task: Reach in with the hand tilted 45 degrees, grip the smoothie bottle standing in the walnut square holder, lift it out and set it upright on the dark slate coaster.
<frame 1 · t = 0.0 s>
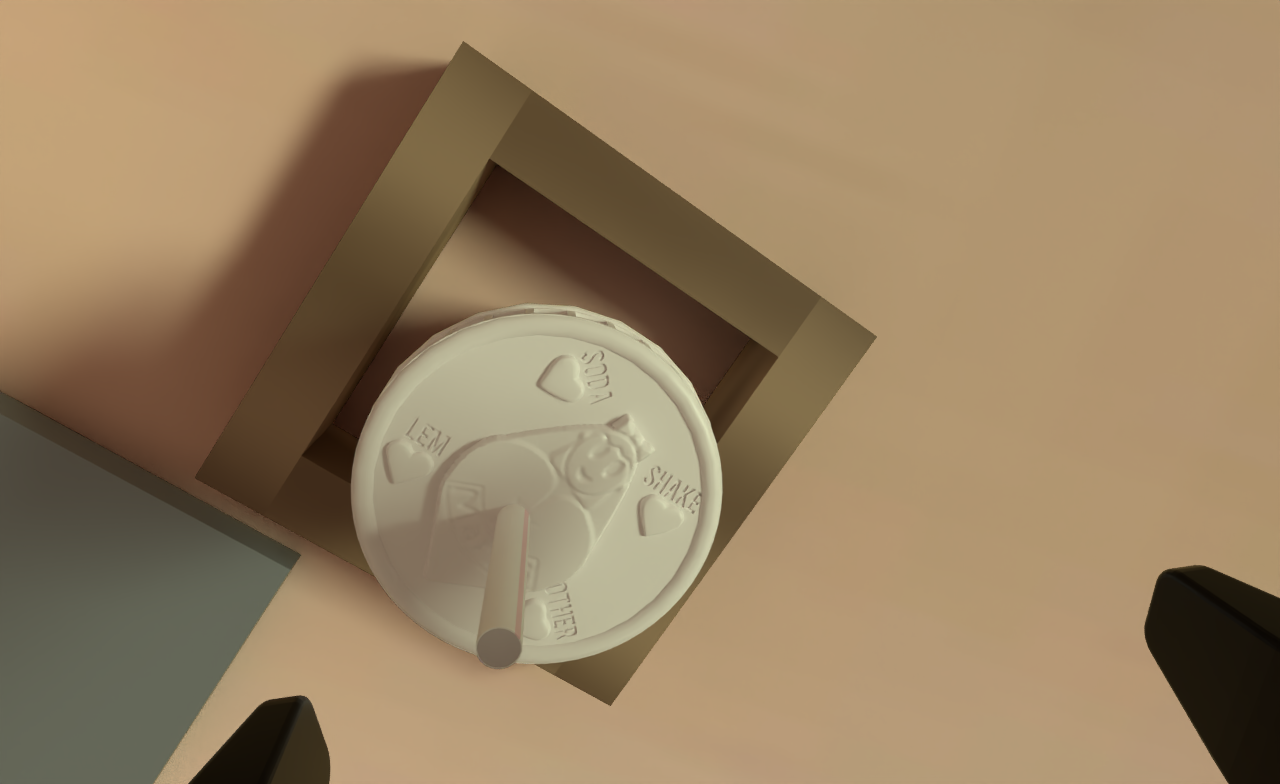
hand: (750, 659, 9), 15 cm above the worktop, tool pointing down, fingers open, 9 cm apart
holder: (544, 380, 24), on the worktop
smoothie: (544, 378, 24), resting in holder
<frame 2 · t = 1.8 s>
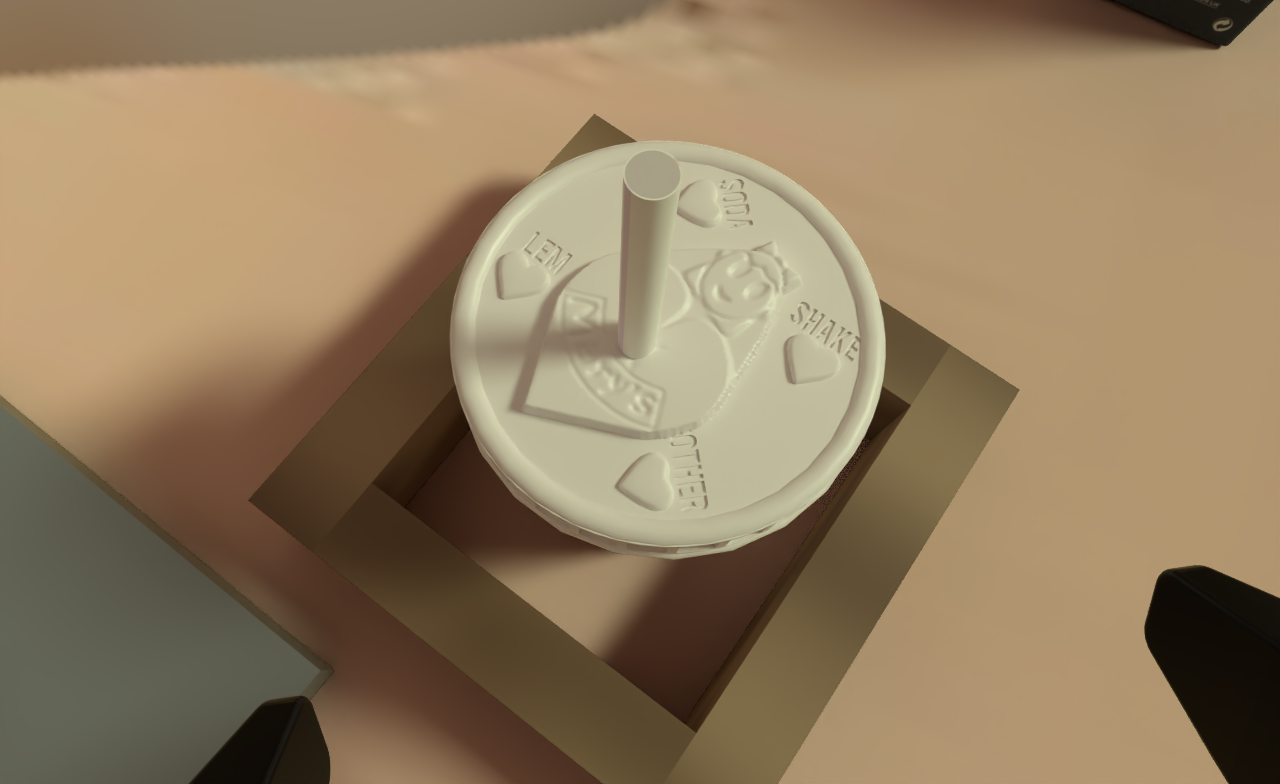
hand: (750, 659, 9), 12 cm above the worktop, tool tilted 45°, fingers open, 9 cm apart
holder: (643, 473, 21), on the worktop
smoothie: (642, 475, 22), resting in holder
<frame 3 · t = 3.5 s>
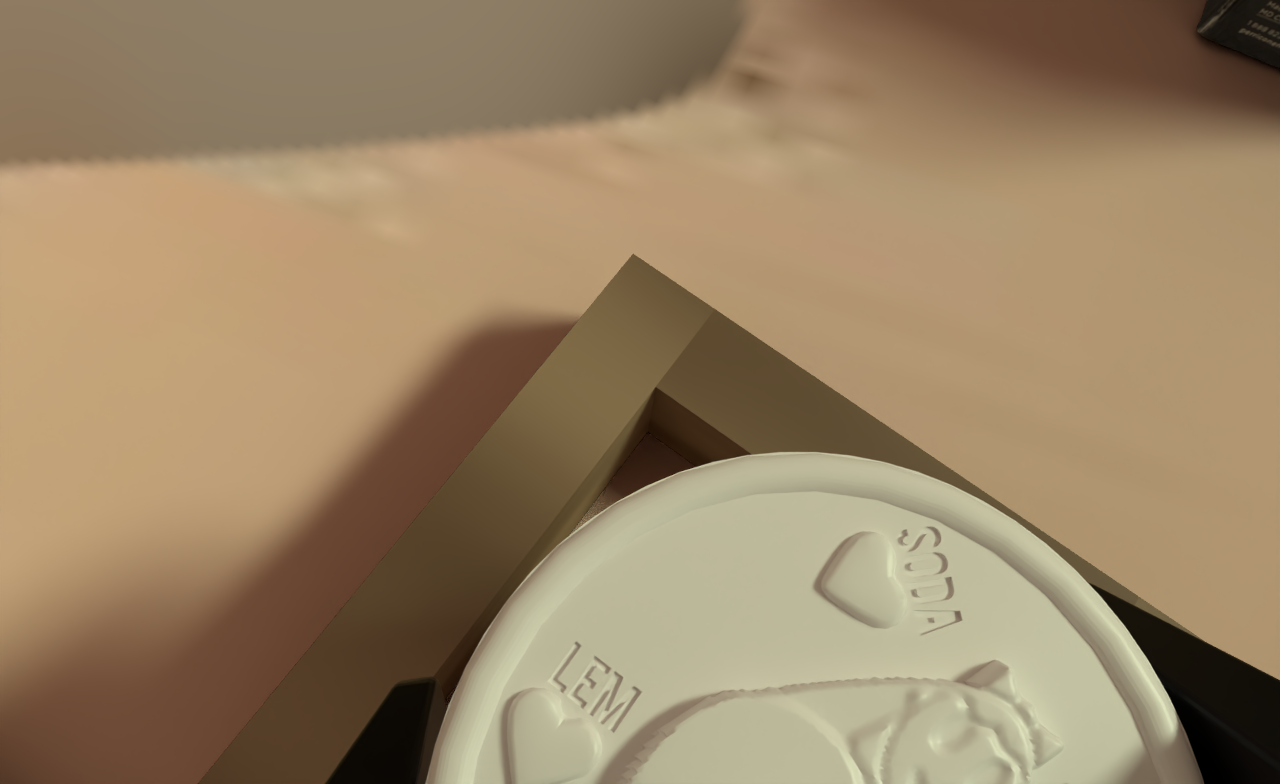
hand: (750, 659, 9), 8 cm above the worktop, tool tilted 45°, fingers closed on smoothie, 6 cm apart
holder: (698, 739, 16), on the worktop
smoothie: (696, 737, 16), resting in holder, touching gripper
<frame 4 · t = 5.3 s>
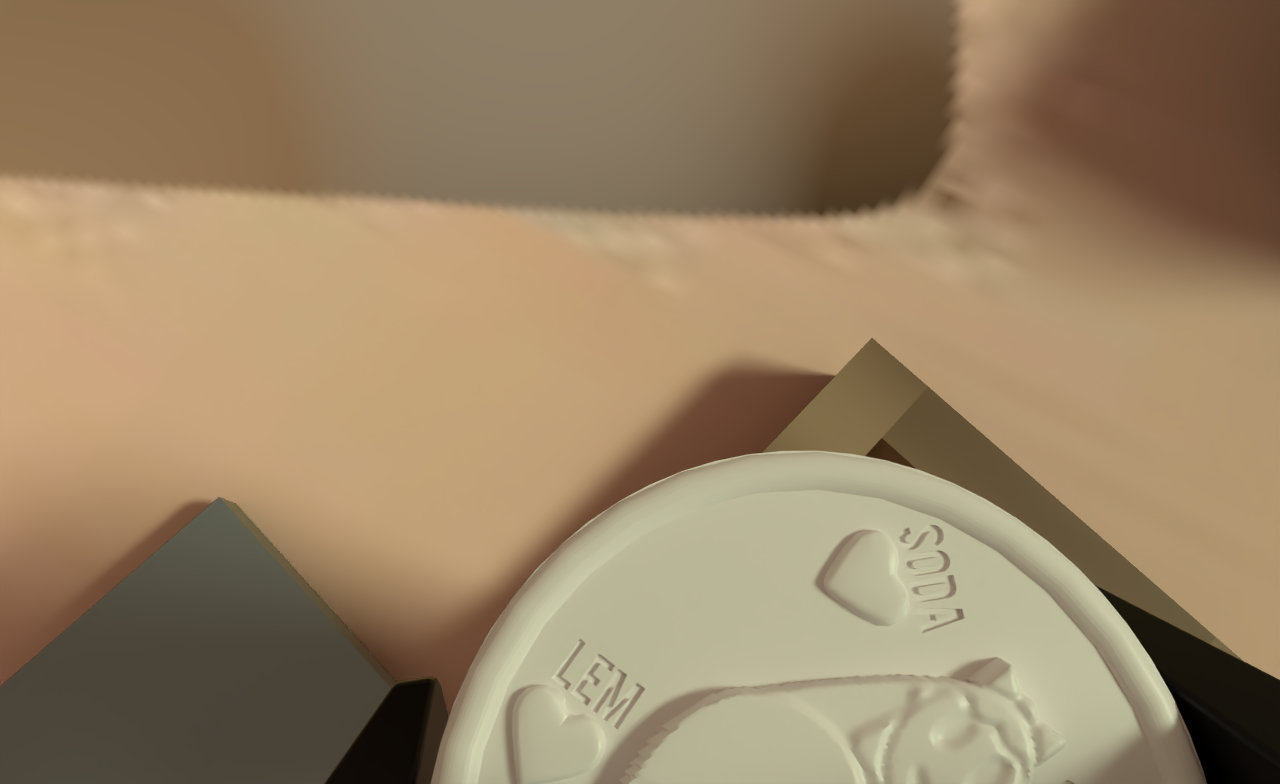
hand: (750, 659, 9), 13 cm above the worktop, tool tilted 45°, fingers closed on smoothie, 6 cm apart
holder: (867, 694, 21), on the worktop
smoothie: (704, 732, 16), point 5 cm above the worktop, touching gripper
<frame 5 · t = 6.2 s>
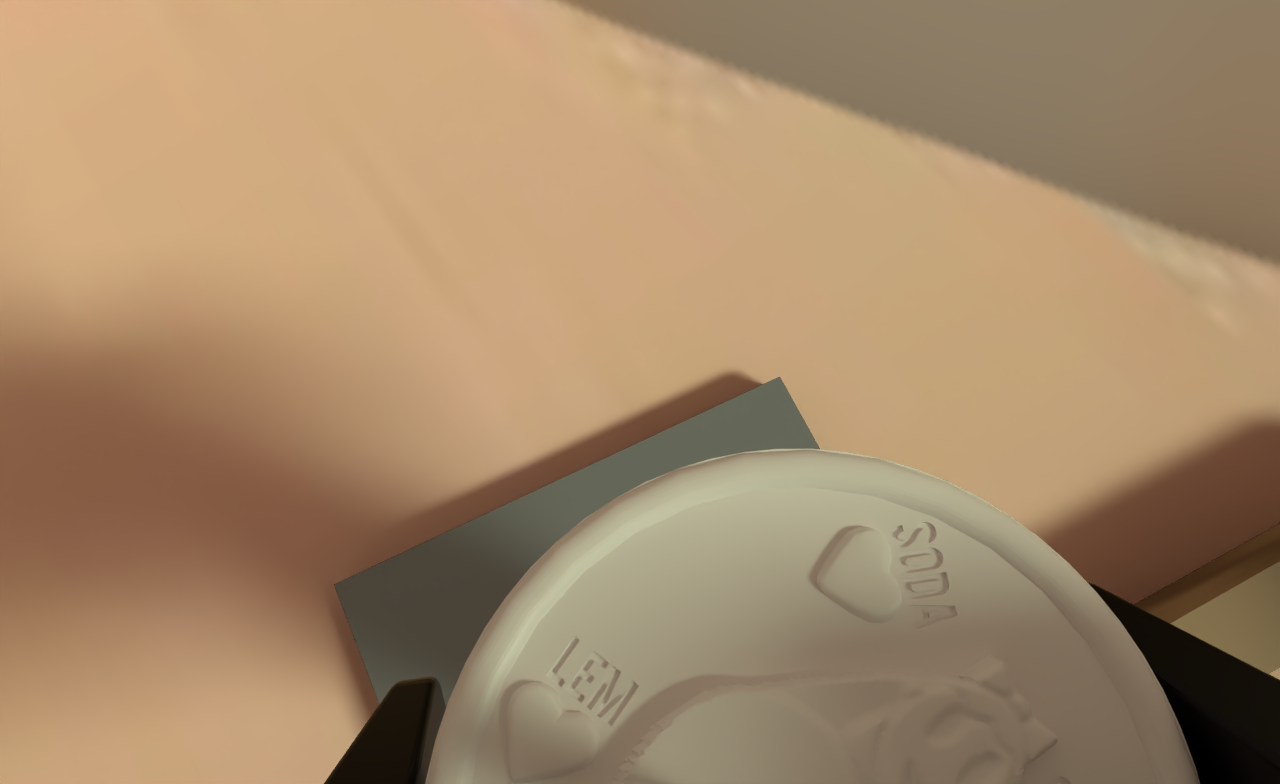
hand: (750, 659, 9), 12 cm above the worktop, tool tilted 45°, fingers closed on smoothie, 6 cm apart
coaster: (673, 706, 20), on the worktop
smoothie: (703, 730, 16), point 5 cm above the worktop, touching gripper
when the fingers open (10 cm above the worktop, at t = 7.1 s): smoothie stays where it is, resting on coaster.
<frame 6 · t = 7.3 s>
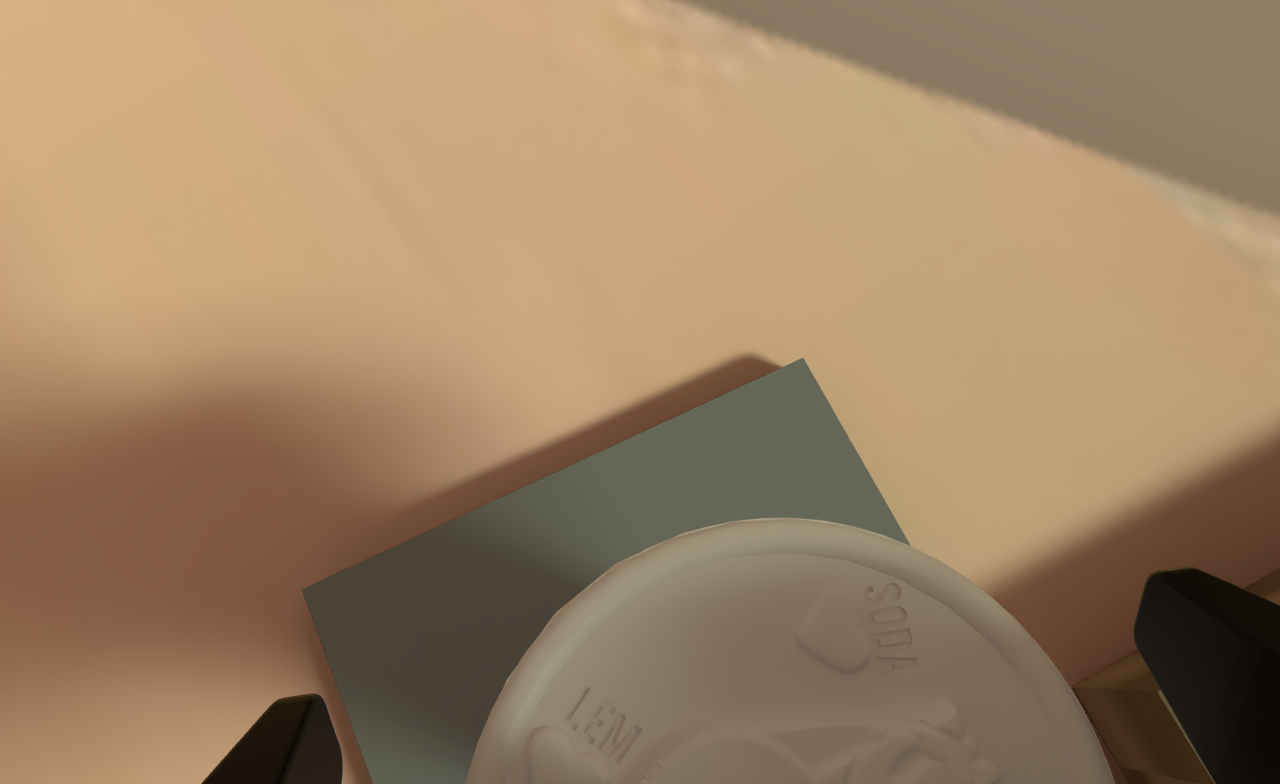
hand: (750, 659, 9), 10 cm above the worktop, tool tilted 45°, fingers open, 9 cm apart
coaster: (685, 727, 18), on the worktop
smoothie: (695, 733, 17), point 1 cm above the worktop, touching coaster
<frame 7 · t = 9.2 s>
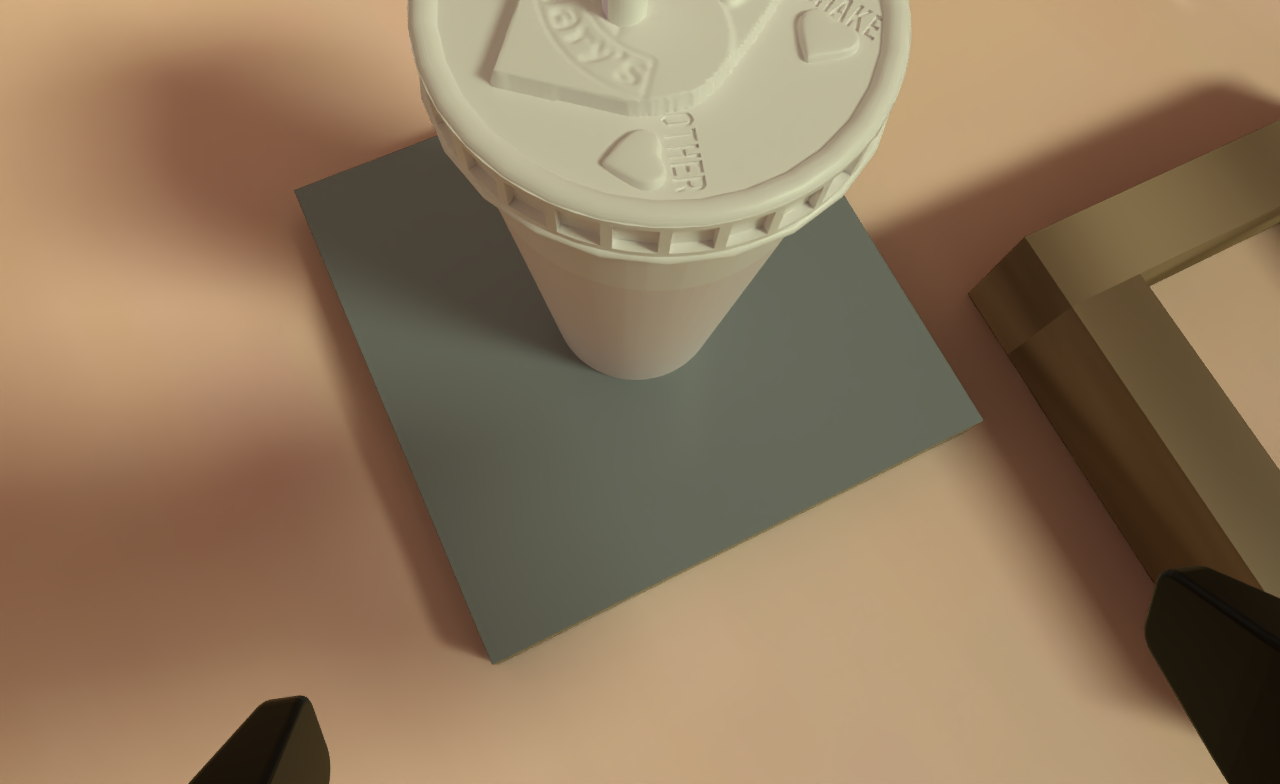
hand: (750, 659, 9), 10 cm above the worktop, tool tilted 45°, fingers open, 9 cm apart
coaster: (628, 318, 21), on the worktop
smoothie: (634, 307, 20), point 1 cm above the worktop, touching coaster
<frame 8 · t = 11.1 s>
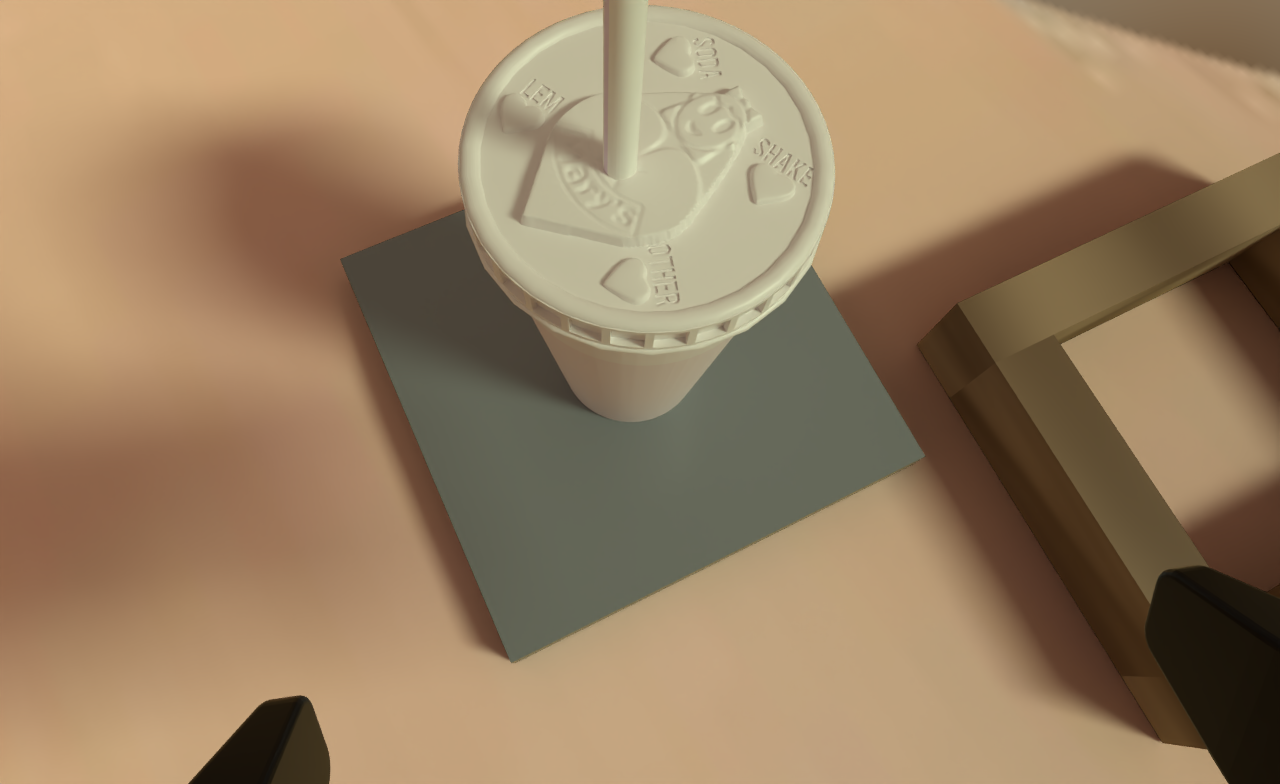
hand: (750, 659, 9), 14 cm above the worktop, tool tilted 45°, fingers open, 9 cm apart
holder: (1204, 439, 24), on the worktop
coaster: (625, 367, 24), on the worktop
smoothie: (630, 359, 23), point 1 cm above the worktop, touching coaster
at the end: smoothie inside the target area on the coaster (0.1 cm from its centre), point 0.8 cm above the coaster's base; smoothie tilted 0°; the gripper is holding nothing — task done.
